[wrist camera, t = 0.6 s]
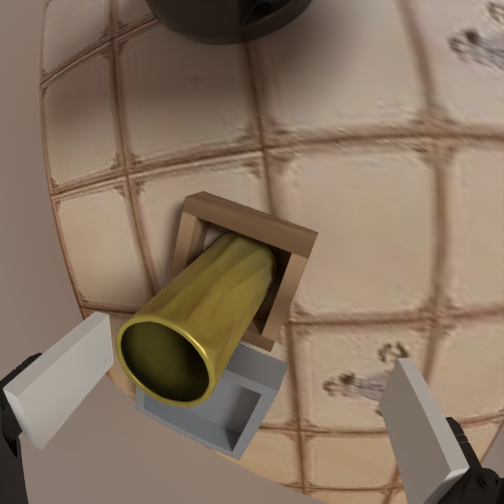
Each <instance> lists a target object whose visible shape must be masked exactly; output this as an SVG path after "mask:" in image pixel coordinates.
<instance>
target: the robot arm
mask: <svg viewBox="0 0 504 504" xmlns="http://www.w3.org/2000/svg"><path fill="white" fill-rule="evenodd" d="M145 1H146V2H147V4H148V6H149V8H150V10H151V11H152V13H153V15H154V16H155V17H156V18H157V20H158V21H159V22H161V23H162V24H163V25H164V26H165V27H167V28H168V29H170V30H172V31H174V32H176V33H177V34H179V35H181V36H183V37H185V38H187V39H190V40H192V41H196V42H200V43H206V44H232V43H239V42H244V41H248V40H252V39H255V38H258V37H261V36H264V35H266V34H269V33H271V32H273V31H275V30H277V29H279V28H281V27H282V26H284V25H286V24H287V23H289V22H290V21H292V20H293V19H294V18H296V17H297V16H298V15H299V14H300V13H302V12H303V11H304V10H305V9H306V8H307V6H308V5H309V4H310V3H311V1H312V0H145ZM113 364H114V356H113V348H112V339H111V330H110V319H109V314H105V313H101V312H97V311H95V312H94V313H93V314H92V315H90V316H89V317H88V318H87V319H85V320H84V321H83V322H81V323H80V324H79V325H78V326H76V327H75V328H74V329H73V330H71V331H70V332H69V333H68V334H67V335H65V336H64V337H63V338H62V339H60V340H59V341H58V342H57V343H56V344H54V345H53V346H52V347H51V348H49V349H48V350H47V351H46V352H45V353H43V354H42V353H38V354H35V355H33V356H30V357H29V358H27V359H26V360H25V361H24V362H23V363H22V365H21V364H20V365H19V366H18V367H16V369H14V370H13V371H12V372H11V373H9V374H8V375H7V376H6V377H4V378H3V379H2V380H1V381H0V504H28V498H27V493H26V487H25V480H24V473H23V465H22V457H21V446H20V445H21V444H20V440H19V437H18V436H19V434H20V433H21V432H23V434H24V436H25V438H26V440H27V441H28V442H29V443H31V444H32V445H34V446H35V447H37V448H39V449H41V450H42V449H43V448H44V447H45V445H46V444H47V443H48V442H49V440H50V439H51V438H52V437H53V435H54V434H55V433H56V432H57V431H58V429H59V428H60V427H61V426H62V424H63V423H64V422H65V421H66V419H67V418H68V417H69V416H70V414H71V413H72V412H73V411H74V410H75V408H76V407H77V406H78V405H79V404H80V403H81V401H82V400H83V399H84V398H85V397H86V395H87V394H88V393H89V392H90V391H91V389H92V388H93V387H94V386H95V385H96V383H97V382H98V381H99V380H100V379H101V378H102V376H103V375H104V374H105V373H106V372H107V371H108V369H109V368H110V367H111V366H112V365H113ZM379 407H380V410H381V413H382V416H383V419H384V422H385V425H386V428H387V431H388V435H389V438H390V441H391V444H392V448H393V451H394V454H395V458H396V461H397V465H398V468H399V472H400V475H401V479H402V483H403V486H404V490H405V494H406V498H407V502H408V504H504V478H499V476H498V475H497V473H496V472H495V471H492V470H491V469H487V468H482V466H481V464H480V462H479V460H478V458H477V456H476V454H475V452H474V450H473V449H472V447H471V445H470V443H468V439H467V437H466V435H464V434H465V433H464V432H463V430H462V428H461V426H460V424H459V423H457V422H456V421H455V420H454V419H453V418H452V417H447V418H445V417H444V415H443V413H442V411H441V409H440V407H439V405H438V403H437V402H436V400H435V398H434V396H433V394H432V393H431V391H430V389H429V387H428V385H427V384H426V382H425V380H424V378H423V377H422V375H421V373H420V371H419V370H418V368H417V366H416V364H415V363H414V361H413V359H410V358H397V361H396V363H395V366H394V369H393V371H392V374H391V376H390V379H389V381H388V383H387V386H386V388H385V391H384V393H383V395H382V398H381V400H380V402H379Z"/></svg>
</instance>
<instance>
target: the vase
mask: <svg viewBox="0 0 504 504" xmlns="http://www.w3.org/2000/svg"><path fill="white" fill-rule="evenodd" d="M276 276H277V263H276V259H275V256H274V254H273V252H272V251H271V249H270V248H269V247H268V245H267V244H266V243H265V242H262V241H260V240H257V239H254V238H252V237H249V236H246V235H244V234H241V233H238V232H231V233H227V234H225V235H223V236H221V237H220V238H218V239H217V240H216V241H215V242H214V243H213V244H212V246H211V247H210V248H209V249H208V250H206V251H205V252H204V253H203V254H201V255H200V256H199V257H198V258H197V259H196V260H195V261H194V262H193V263H191V264H190V265H189V266H188V267H187V268H186V269H184V270H183V271H182V272H181V273H180V274H179V275H178V276H177V277H175V278H174V279H173V280H172V281H171V282H170V283H169V284H168V285H166V286H165V287H164V288H163V289H162V290H161V291H160V292H159V293H158V294H156V295H155V296H154V297H153V298H152V299H151V300H150V301H149V302H148V303H147V304H145V305H144V306H143V307H142V308H141V309H140V310H139V311H137V312H136V313H135V314H134V315H133V316H131V317H130V318H129V319H128V320H127V321H125V322H124V323H123V324H122V325H121V326H120V328H119V330H118V332H117V335H116V342H115V346H116V352H117V356H118V359H119V362H120V364H121V367H122V368H123V370H124V372H125V373H126V374H127V376H128V377H129V378H130V380H131V381H132V382H133V383H134V384H135V385H136V386H138V387H139V388H140V389H141V390H142V391H143V392H145V393H146V394H147V395H149V396H150V397H152V398H154V399H155V400H157V401H159V402H162V403H164V404H168V405H172V406H178V407H193V406H197V405H199V404H201V403H203V402H205V401H206V400H207V399H208V398H209V397H210V396H211V394H212V393H213V391H214V389H215V387H216V385H217V383H218V381H219V379H220V378H221V376H222V374H223V372H224V370H225V368H226V366H227V364H228V363H229V361H230V359H231V357H232V355H233V353H234V351H235V349H236V347H237V345H238V343H239V342H240V340H241V338H242V336H243V335H244V333H245V331H246V329H247V328H248V326H249V324H250V322H251V321H252V319H253V317H254V315H255V314H256V312H257V310H258V309H259V307H260V305H261V303H262V302H263V300H264V298H265V296H266V294H267V293H268V292H269V291H270V289H271V288H272V286H273V284H274V282H275V280H276Z"/></svg>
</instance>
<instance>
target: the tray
mask: <svg viewBox="0 0 504 504" xmlns="http://www.w3.org/2000/svg"><path fill="white" fill-rule="evenodd" d="M287 365H288V364H287V363H285V362H282V361H280V360H277V359H275V358H272V357H270V356H267V355H265V354H262V353H260V352H257V351H255V350H253V349H250V348H248V347H245V346H243V345H241V344H238V345H237V347H236V349H235V351H234V353H233V355H232V357H231V359H230V361H229V363H228V364H227V366H226V368H225V370H224V372H223V374H222V376H221V378H220V379H219V381H218V383H217V385H216V387H215V389H214V391H213V393H212V394H211V396H210V397H209V398H208V399H207V400H206V401H205V402H203V403H201V404H199V405H197V406H193V407H178V406H172V405H168V404H164V403H162V402H159V401H157V400H155V399H154V398H152V397H150V396H149V395H147V394H146V393H145V392H143V391H142V390H141V389H140V388H139V387H138V386H136V399H135V404H136V405H135V408H136V410H138V411H140V412H141V413H143V414H145V415H147V416H148V417H150V418H152V419H154V420H155V421H157V422H159V423H161V424H163V425H165V426H166V427H168V428H170V429H172V430H174V431H176V432H178V433H180V434H182V435H184V436H186V437H188V438H190V439H192V440H194V441H196V442H198V443H201V444H203V445H205V446H207V447H209V448H212V449H214V450H216V451H218V452H221V453H223V454H225V455H228V456H230V457H233V458H235V459H238V460H240V458H241V457H242V455H243V453H244V452H245V450H246V448H247V446H248V445H249V443H250V441H251V440H252V438H253V436H254V435H255V433H256V431H257V429H258V428H259V426H260V424H261V422H262V420H263V419H264V417H265V415H266V413H267V411H268V410H269V408H270V406H271V404H272V402H273V400H274V399H275V397H276V395H277V393H278V391H279V388H280V385H281V383H282V380H283V377H284V374H285V371H286V368H287Z"/></svg>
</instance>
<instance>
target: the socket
mask: <svg viewBox="0 0 504 504" xmlns="http://www.w3.org/2000/svg"><path fill="white" fill-rule="evenodd" d="M209 222H212V223H214V224H217V225H220V226H222V227H225V228H228V229H230V230H233V231H236V232H238V233H241V234H244V235H246V236H249V237H252V238H254V239H257V240H260V241H262V242H265V243H267V244H270V245H273V246H275V247H278V248H281V249H283V250H286V251H288V252H291V253H292V255H291V257H290V260H289V263H288V266H287V268H286V271H285V274H284V277H283V279H282V282H281V285H280V288H279V290H278V293H277V296H276V298H275V301H274V304H273V306H272V309H271V312H270V314H269V317H267V316H265V315H262V314H260V313H257V312H256V314H255V315H254V317H253V319H252V321H251V322H250V324H249V326H248V328H247V329H246V331H245V333H244V335H243V336H242V338H241V340H243V341H245V342H248V343H250V344H252V345H255V346H257V347H260V348H262V349H265V350H267V351H269V352H271V350H272V347H273V345H274V343H275V340H276V338H277V336H278V333H279V331H280V329H281V326H282V324H283V321H284V319H285V316H286V314H287V312H288V309H289V307H290V304H291V302H292V299H293V297H294V294H295V292H296V289H297V287H298V284H299V282H300V279H301V276H302V274H303V271H304V269H305V266H306V264H307V261H308V258H309V256H310V253H311V250H312V248H313V245H314V242H315V240H316V237H317V234H318V232H315V231H312V230H310V229H307V228H305V227H302V226H299V225H296V224H294V223H291V222H288V221H286V220H283V219H280V218H278V217H275V216H272V215H269V214H266V213H264V212H261V211H258V210H255V209H253V208H250V207H247V206H244V205H241V204H238V203H236V202H233V201H230V200H227V199H224V198H221V197H218V196H215V195H212V194H209V193H206V192H203V191H202V192H199V193H196V194H193V195H190V196H186V197H185V202H184V206H183V211H182V216H181V221H180V226H179V231H178V236H177V241H176V246H175V252H174V257H173V263H172V269H171V274H170V280H169V283H170V282H171V281H172V280H173V279H174V278H175V277H177V276H178V275H179V274H180V273H181V272H182V271H183V270H184V269H186V268H187V267H188V266H189V265H190V264H191V263H193V262H194V261H195V260H196V259H197V258H198V257H199V256H200V255H201V254H202V250H203V246H204V241H205V237H206V233H207V229H208V224H209Z"/></svg>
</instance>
